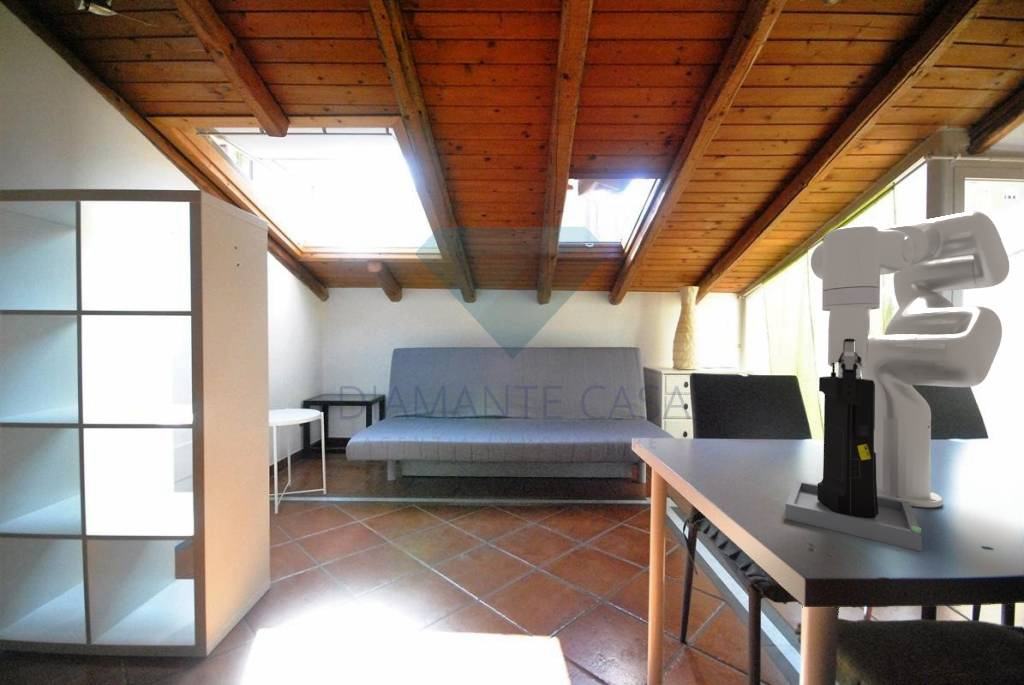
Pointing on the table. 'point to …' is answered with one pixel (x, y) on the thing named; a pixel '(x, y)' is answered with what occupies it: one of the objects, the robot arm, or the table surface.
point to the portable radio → (849, 452)
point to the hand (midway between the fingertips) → (849, 401)
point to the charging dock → (857, 518)
